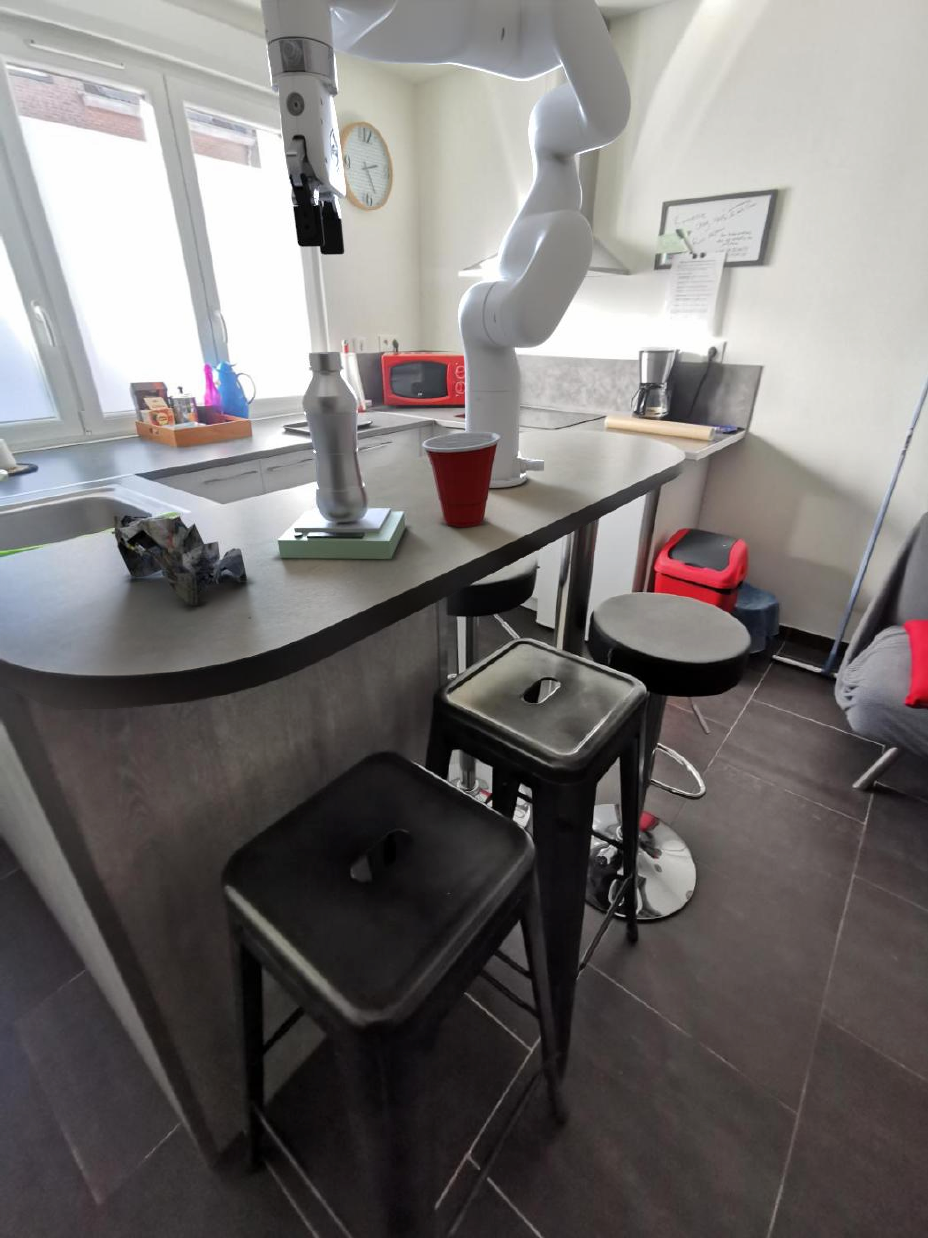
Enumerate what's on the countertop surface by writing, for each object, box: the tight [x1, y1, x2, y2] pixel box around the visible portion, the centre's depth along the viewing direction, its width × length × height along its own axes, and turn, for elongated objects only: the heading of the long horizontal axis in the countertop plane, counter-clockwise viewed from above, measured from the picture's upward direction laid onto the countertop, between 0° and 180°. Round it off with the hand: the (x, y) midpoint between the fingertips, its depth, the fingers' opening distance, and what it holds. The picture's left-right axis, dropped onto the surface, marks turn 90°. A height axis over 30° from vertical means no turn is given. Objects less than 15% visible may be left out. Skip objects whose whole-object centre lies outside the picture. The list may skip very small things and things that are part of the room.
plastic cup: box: [421, 431, 500, 528], centre depth 80 cm, size 11×11×12 cm
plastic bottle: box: [301, 351, 370, 522], centre depth 70 cm, size 6×7×20 cm
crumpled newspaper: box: [110, 514, 248, 607], centre depth 63 cm, size 12×11×15 cm
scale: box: [277, 507, 406, 560], centre depth 75 cm, size 14×12×3 cm
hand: (322, 250), depth 73 cm, fingers open, 9 cm apart
